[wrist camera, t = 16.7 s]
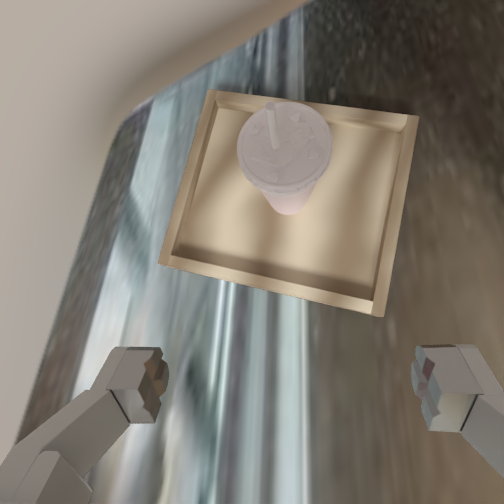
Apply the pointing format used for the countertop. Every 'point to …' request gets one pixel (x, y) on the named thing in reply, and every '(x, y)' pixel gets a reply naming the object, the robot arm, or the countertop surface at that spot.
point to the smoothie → (285, 153)
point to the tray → (305, 221)
